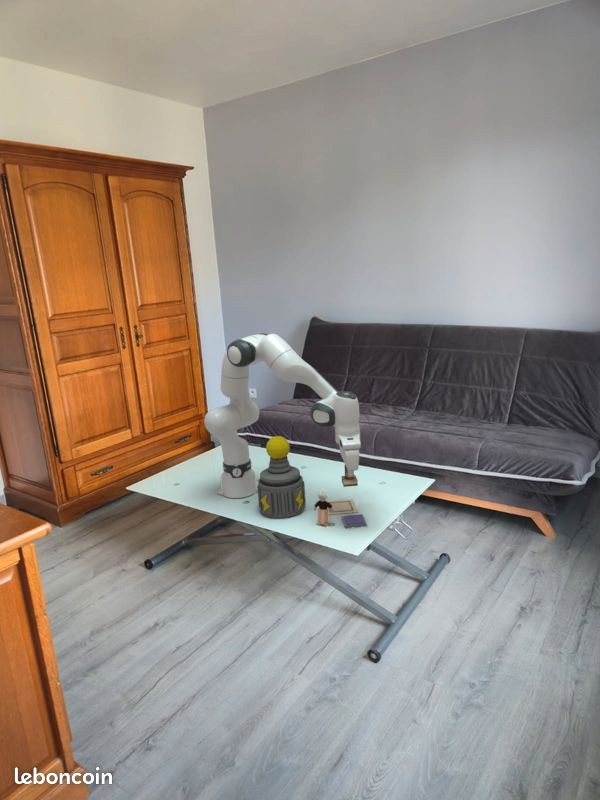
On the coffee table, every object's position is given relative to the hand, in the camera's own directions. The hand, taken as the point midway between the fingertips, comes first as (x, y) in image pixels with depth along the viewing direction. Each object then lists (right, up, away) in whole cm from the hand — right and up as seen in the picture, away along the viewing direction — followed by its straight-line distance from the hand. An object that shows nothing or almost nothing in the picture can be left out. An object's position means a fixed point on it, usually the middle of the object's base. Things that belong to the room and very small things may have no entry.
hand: (349, 473), depth 195 cm
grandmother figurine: (-9, -19, +3) cm, 21 cm away
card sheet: (-2, -15, +16) cm, 22 cm away
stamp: (0, -4, +1) cm, 4 cm away
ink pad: (+2, -18, +3) cm, 19 cm away
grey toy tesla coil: (-25, -17, +18) cm, 35 cm away
